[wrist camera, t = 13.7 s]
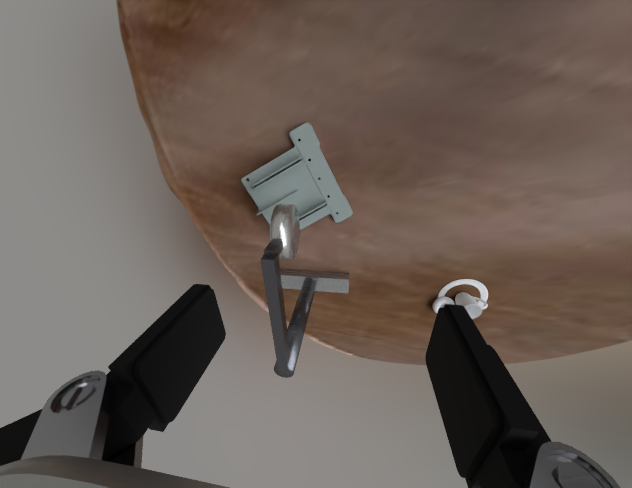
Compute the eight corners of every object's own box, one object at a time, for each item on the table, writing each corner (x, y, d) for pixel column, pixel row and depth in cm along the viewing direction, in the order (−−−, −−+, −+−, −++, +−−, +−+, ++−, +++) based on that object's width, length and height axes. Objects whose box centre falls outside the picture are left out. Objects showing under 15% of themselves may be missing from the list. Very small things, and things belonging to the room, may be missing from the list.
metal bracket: (281, 257, 36) (223, 169, 31) (283, 245, 42) (233, 169, 37) (362, 213, 35) (315, 114, 30) (353, 206, 40) (312, 122, 35)
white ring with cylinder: (428, 310, 43) (434, 326, 40) (437, 275, 40) (445, 290, 36) (478, 315, 42) (490, 332, 38) (493, 279, 38) (507, 294, 35)
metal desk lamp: (264, 180, 36) (185, 224, 20) (353, 180, 34) (349, 230, 18) (277, 281, 45) (230, 372, 28) (348, 286, 43) (343, 388, 26)
